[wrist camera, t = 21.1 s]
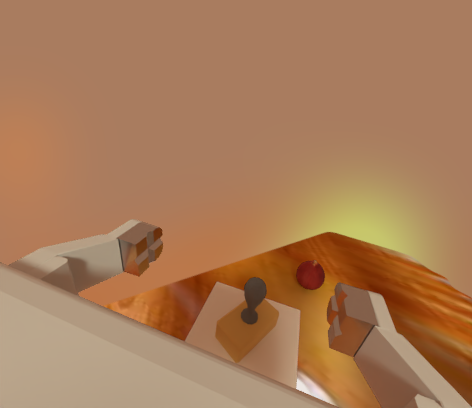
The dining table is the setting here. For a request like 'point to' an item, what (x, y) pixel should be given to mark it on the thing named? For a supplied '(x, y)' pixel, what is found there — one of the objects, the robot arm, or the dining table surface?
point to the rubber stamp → (247, 321)
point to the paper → (266, 351)
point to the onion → (310, 275)
